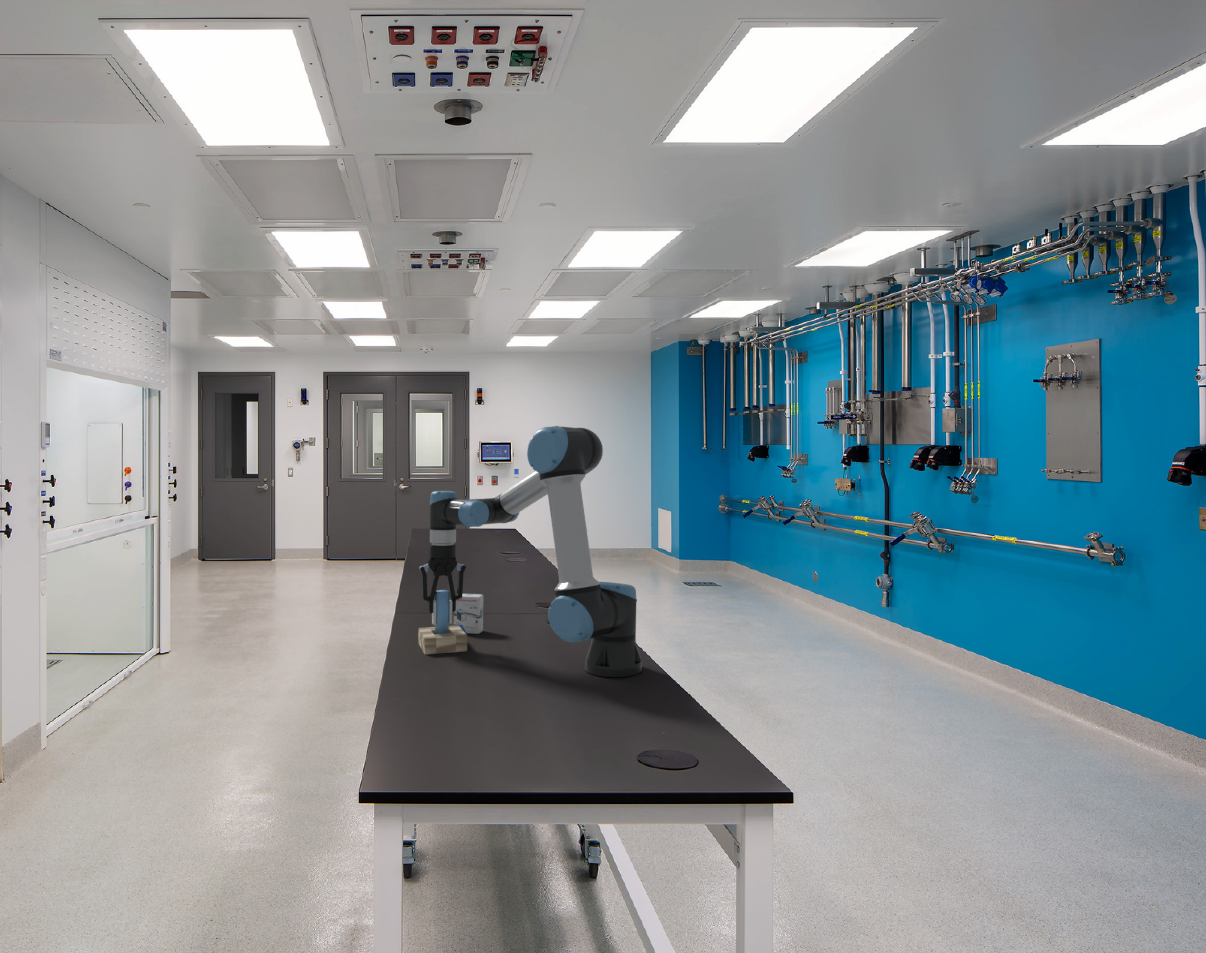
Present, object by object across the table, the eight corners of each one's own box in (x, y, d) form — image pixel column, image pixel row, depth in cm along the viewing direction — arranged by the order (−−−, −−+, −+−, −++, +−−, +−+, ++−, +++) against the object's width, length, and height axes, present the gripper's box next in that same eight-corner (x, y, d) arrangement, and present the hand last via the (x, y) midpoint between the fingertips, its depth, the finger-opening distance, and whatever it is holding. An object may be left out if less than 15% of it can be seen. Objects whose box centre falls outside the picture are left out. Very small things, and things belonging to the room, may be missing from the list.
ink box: (452, 633, 245) (453, 596, 244) (457, 629, 250) (457, 593, 249) (479, 634, 244) (479, 597, 243) (483, 630, 249) (483, 594, 248)
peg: (449, 636, 226) (450, 592, 225) (436, 637, 224) (436, 592, 224) (447, 633, 229) (448, 589, 229) (433, 634, 228) (434, 590, 228)
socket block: (467, 651, 222) (467, 635, 222) (424, 654, 218) (424, 638, 218) (458, 640, 236) (458, 625, 235) (418, 643, 231) (418, 628, 231)
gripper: (469, 541, 233) (468, 618, 233) (411, 543, 226) (410, 622, 227) (474, 544, 226) (473, 624, 226) (414, 546, 219) (414, 628, 220)
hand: (442, 623), depth 227 cm, fingers closed on peg, 4 cm apart
